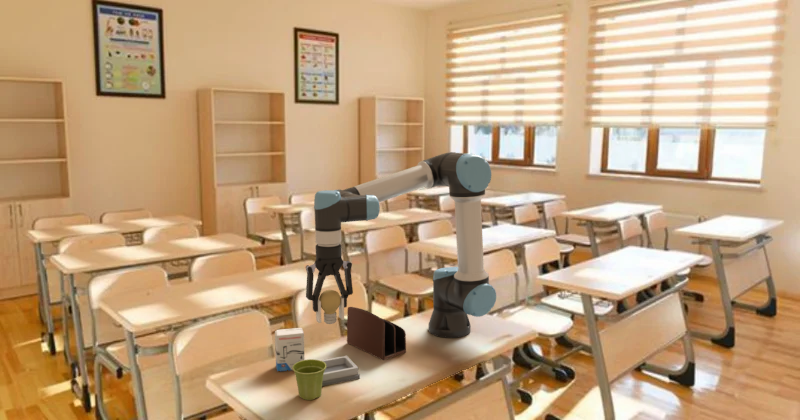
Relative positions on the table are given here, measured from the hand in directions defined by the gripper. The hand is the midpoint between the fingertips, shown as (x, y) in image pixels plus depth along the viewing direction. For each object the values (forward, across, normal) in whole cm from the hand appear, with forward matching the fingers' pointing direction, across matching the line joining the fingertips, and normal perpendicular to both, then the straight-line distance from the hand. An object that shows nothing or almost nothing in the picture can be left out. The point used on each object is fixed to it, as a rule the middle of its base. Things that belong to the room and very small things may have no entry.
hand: (330, 319), depth 179 cm
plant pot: (+18, +10, +10) cm, 22 cm away
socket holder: (+17, 0, 0) cm, 17 cm away
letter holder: (+18, -20, -14) cm, 30 cm away
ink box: (+18, +10, -11) cm, 23 cm away
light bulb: (+1, 0, 0) cm, 1 cm away
